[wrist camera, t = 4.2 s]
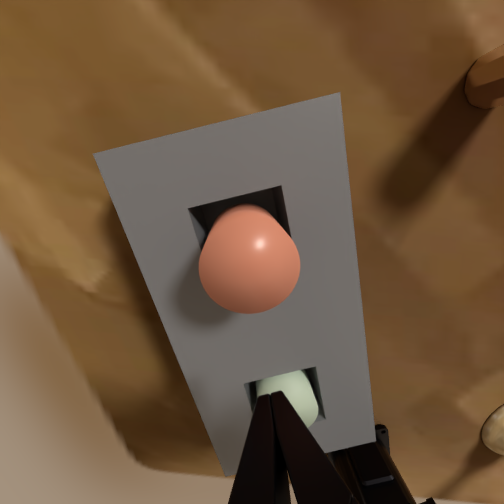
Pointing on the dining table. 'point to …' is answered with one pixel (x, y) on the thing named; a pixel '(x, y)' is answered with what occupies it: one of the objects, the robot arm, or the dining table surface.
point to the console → (300, 231)
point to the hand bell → (494, 431)
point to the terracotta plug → (248, 260)
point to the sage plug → (293, 393)
